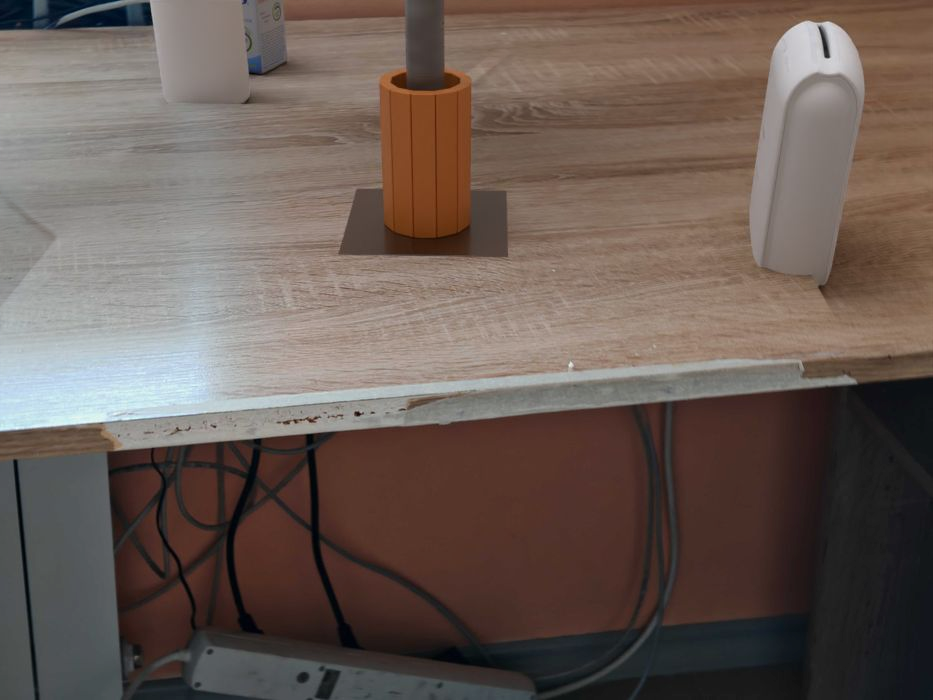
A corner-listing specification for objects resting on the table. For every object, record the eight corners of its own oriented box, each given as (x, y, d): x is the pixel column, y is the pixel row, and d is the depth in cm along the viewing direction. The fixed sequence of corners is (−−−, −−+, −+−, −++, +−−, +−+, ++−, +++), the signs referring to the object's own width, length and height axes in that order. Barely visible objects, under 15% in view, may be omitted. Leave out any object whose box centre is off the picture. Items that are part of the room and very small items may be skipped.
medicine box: (179, 65, 90) (165, -43, 86) (208, 51, 94) (196, -54, 89) (263, 75, 88) (253, -36, 83) (289, 61, 92) (281, -46, 87)
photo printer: (743, 212, 65) (774, 1, 59) (817, 218, 64) (857, 5, 58) (747, 291, 56) (784, 54, 50) (833, 298, 56) (882, 59, 49)
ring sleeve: (381, 237, 59) (375, 93, 55) (388, 202, 63) (383, 66, 59) (469, 238, 59) (470, 94, 55) (470, 203, 63) (472, 67, 59)
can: (191, 121, 78) (168, -53, 72) (149, 99, 83) (124, -67, 76) (267, 102, 82) (252, -64, 76) (223, 82, 86) (205, -77, 80)
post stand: (339, 274, 58) (318, -62, 49) (357, 206, 65) (342, -94, 57) (507, 276, 58) (517, -60, 49) (506, 208, 65) (514, -92, 56)
